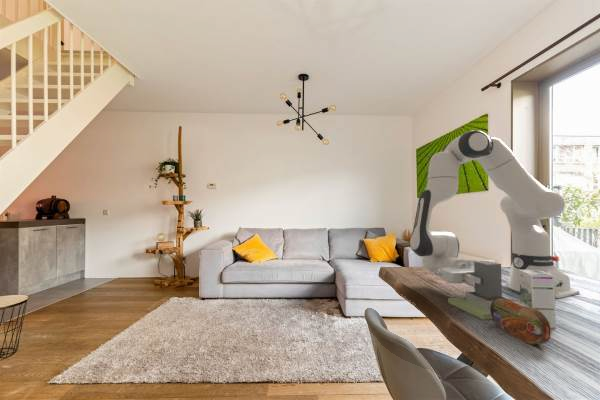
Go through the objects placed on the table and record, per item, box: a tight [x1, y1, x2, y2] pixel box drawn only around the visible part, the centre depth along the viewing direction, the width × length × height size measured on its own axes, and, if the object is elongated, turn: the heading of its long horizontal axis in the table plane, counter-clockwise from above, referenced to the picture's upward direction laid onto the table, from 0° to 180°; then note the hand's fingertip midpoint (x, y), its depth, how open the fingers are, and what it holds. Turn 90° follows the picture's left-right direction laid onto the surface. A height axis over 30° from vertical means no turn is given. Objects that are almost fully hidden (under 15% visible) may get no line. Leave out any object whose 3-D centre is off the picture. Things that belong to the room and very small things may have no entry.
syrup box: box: [519, 270, 557, 329], centre depth 76 cm, size 6×6×14 cm
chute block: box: [474, 260, 503, 300], centre depth 86 cm, size 5×5×12 cm
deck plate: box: [447, 291, 513, 321], centre depth 86 cm, size 16×14×4 cm
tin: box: [490, 298, 552, 345], centre depth 69 cm, size 15×3×8 cm, turn 5°
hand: (490, 280), depth 85 cm, fingers closed on chute block, 5 cm apart
